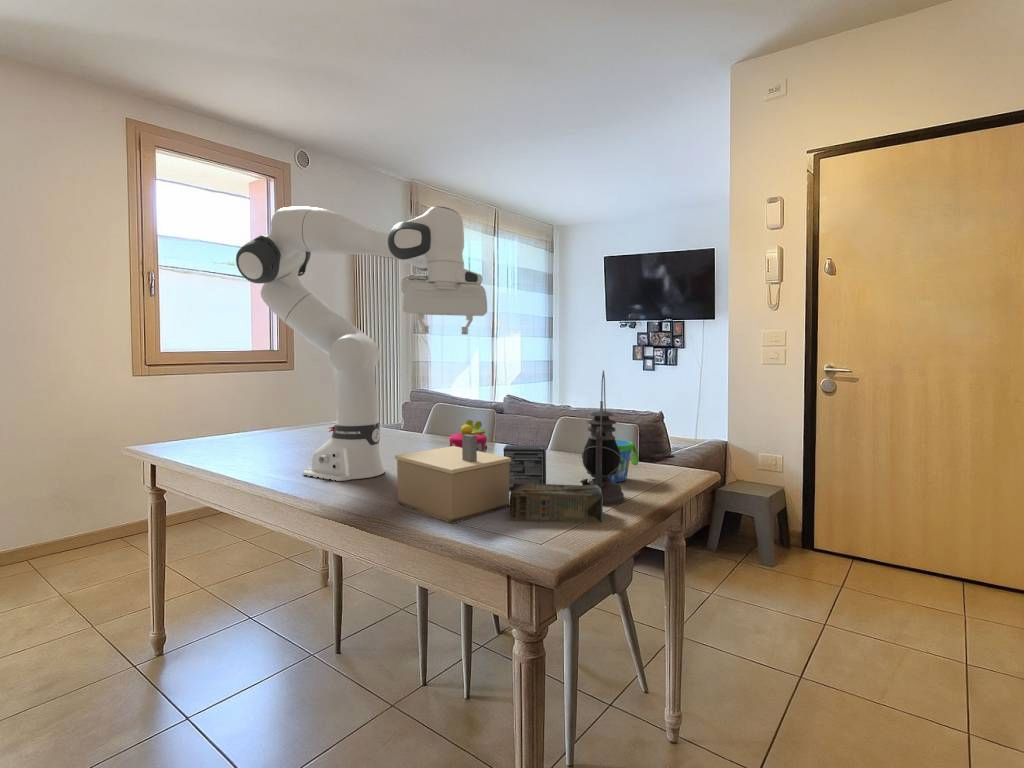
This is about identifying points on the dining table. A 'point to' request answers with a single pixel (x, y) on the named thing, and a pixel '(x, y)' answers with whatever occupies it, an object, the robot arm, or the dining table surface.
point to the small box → (526, 464)
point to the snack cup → (625, 460)
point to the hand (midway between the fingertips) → (445, 334)
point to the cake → (469, 429)
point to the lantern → (603, 455)
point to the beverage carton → (556, 503)
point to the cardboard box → (453, 490)
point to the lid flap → (454, 457)
